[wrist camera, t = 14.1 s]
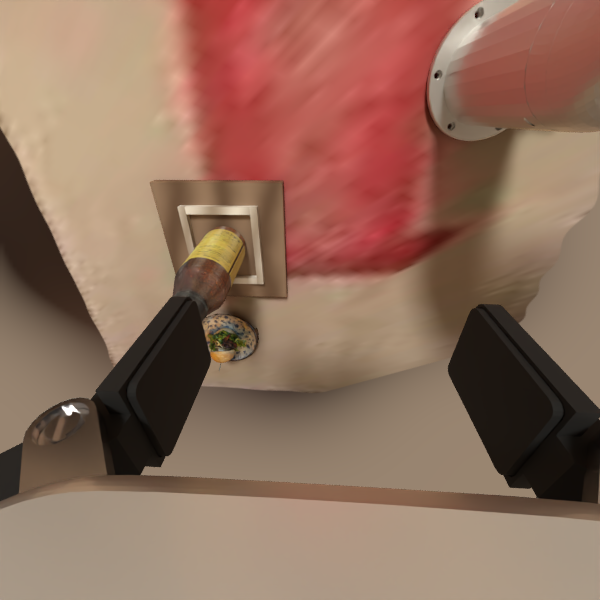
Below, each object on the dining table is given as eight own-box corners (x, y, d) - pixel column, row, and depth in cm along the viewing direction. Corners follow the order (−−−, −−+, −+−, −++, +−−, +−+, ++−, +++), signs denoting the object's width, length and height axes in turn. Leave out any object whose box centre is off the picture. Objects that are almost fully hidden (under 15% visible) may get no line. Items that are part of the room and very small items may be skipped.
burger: (267, 321, 52) (260, 349, 46) (248, 362, 58) (240, 391, 52) (204, 299, 50) (188, 325, 44) (192, 343, 56) (176, 372, 50)
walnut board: (283, 180, 38) (281, 184, 36) (287, 292, 48) (286, 300, 46) (154, 180, 39) (145, 183, 37) (184, 290, 49) (178, 298, 47)
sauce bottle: (199, 228, 41) (121, 305, 24) (239, 220, 40) (185, 293, 23) (216, 268, 45) (157, 358, 28) (254, 261, 43) (215, 350, 27)
